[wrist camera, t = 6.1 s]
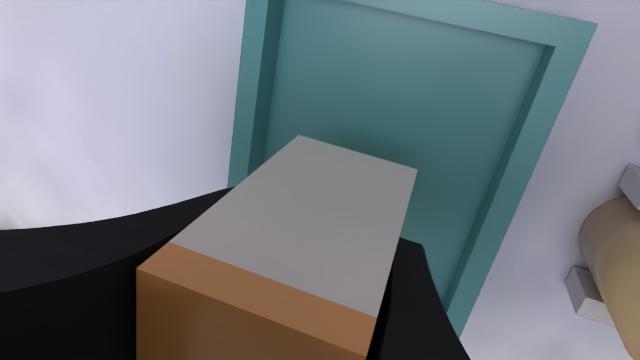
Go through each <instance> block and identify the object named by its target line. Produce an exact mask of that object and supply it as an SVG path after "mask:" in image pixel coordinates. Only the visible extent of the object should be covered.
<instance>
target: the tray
mask: <svg viewBox="0 0 640 360" xmlns="http://www.w3.org/2000/svg"><path fill="white" fill-rule="evenodd" d="M597 25H598V24H596V23H591V22H586V21H581V20H576V19H571V18H567V17H562V16H557V15H552V14H547V13H542V12H537V11H532V10H527V9H522V8H518V7H513V6H508V5H503V4H498V3H493V2H488V1H483V0H246V8H245V18H244V28H243V37H242V47H241V57H240V67H239V77H238V87H237V97H236V107H235V117H234V127H233V137H232V147H231V157H230V167H229V177H228V186H227V188H230V187H235V186H237V185H238V184H240V183H241V182H242V181H243V180H244V179H246V178H247V177H248V176H249V175H251V174H252V173H253V172H254V171H255V170H257V169H258V168H259V167H260V166H262V165H263V164H264V163H265V162H266V161H268V160H269V159H270V158H271V157H272V156H274V155H275V154H276V153H277V152H279V151H280V150H281V149H282V148H283V147H285V146H286V145H287V144H288V143H289V142H291V141H292V140H293V139H294V138H296V137H297V136H298V135H301V136H304V137H308V138H311V139H315V140H318V141H322V142H325V143H329V144H332V145H335V146H339V147H342V148H346V149H349V150H353V151H356V152H359V153H363V154H366V155H370V156H373V157H377V158H380V159H383V160H387V161H390V162H394V163H397V164H401V165H404V166H408V167H411V168H414V169H418V171H417V174H416V178H415V181H414V185H413V189H412V192H411V196H410V200H409V203H408V207H407V211H406V214H405V218H404V222H403V225H402V229H401V233H400V236H399V237H401V238H404V239H407V240H410V241H413V242H417V243H420V244H422V245H423V247H424V249H425V253H426V258H427V262H428V265H429V269H430V272H431V275H432V278H433V281H434V284H435V287H436V289H437V292H438V294H439V297H440V299H441V302H442V304H443V307H444V309H445V311H446V314H447V316H448V318H449V320H450V322H451V324H452V326H453V328H454V330H455V332H456V334H457V336H458V338H460V336H461V333H462V331H463V329H464V327H465V324H466V322H467V320H468V317H469V315H470V313H471V311H472V308H473V306H474V304H475V302H476V299H477V297H478V295H479V293H480V290H481V288H482V286H483V283H484V281H485V279H486V277H487V274H488V272H489V270H490V268H491V265H492V263H493V261H494V259H495V256H496V254H497V252H498V249H499V247H500V245H501V243H502V240H503V238H504V236H505V234H506V231H507V229H508V227H509V225H510V222H511V220H512V218H513V215H514V213H515V211H516V209H517V206H518V204H519V202H520V200H521V197H522V195H523V193H524V190H525V188H526V186H527V184H528V181H529V179H530V177H531V175H532V172H533V170H534V168H535V166H536V163H537V161H538V159H539V156H540V154H541V152H542V150H543V147H544V145H545V143H546V141H547V138H548V136H549V134H550V132H551V129H552V127H553V125H554V122H555V120H556V118H557V116H558V113H559V111H560V109H561V107H562V104H563V102H564V100H565V98H566V95H567V93H568V91H569V88H570V86H571V84H572V82H573V79H574V77H575V75H576V73H577V70H578V68H579V66H580V64H581V61H582V59H583V57H584V54H585V52H586V50H587V48H588V45H589V43H590V41H591V39H592V36H593V34H594V32H595V30H596V27H597Z"/></svg>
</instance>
